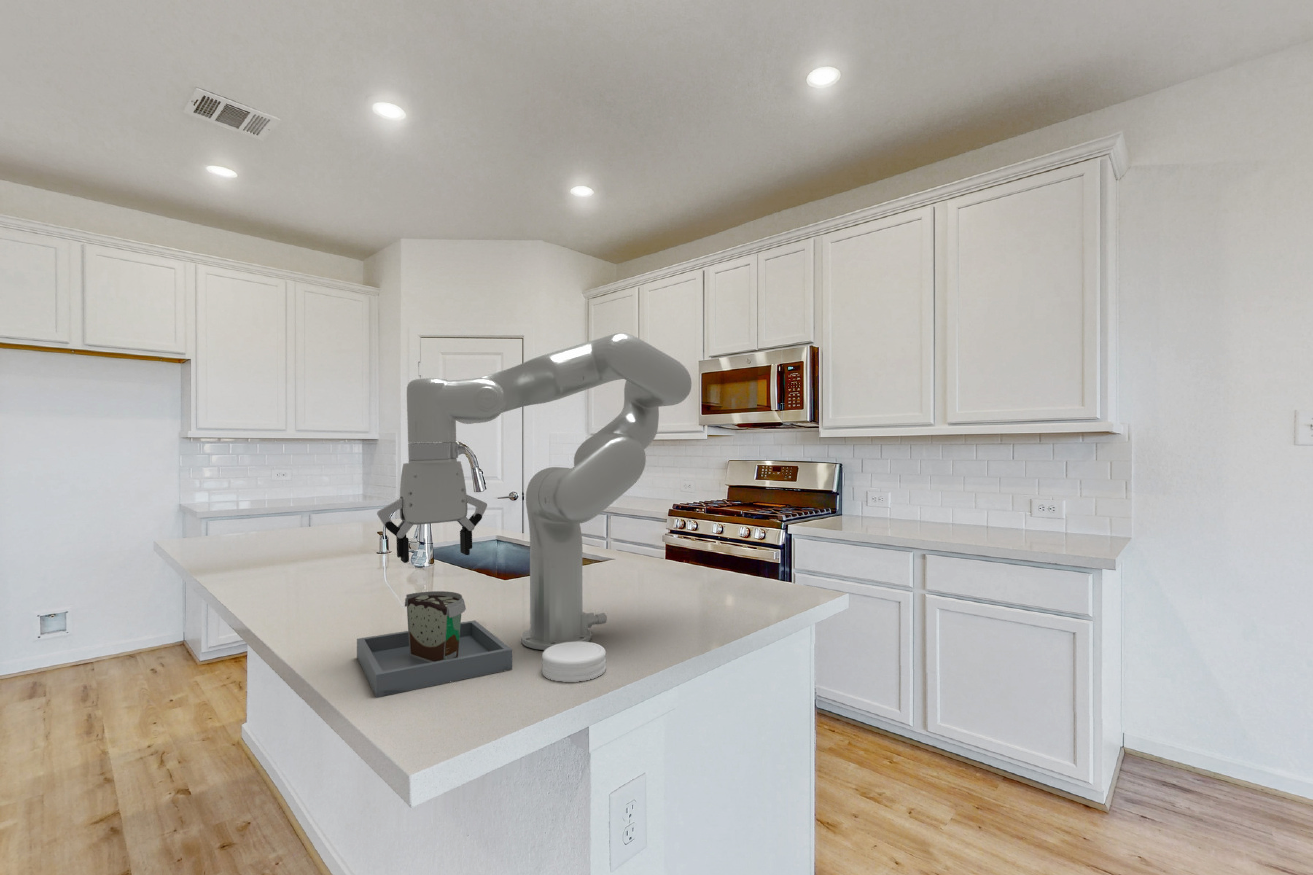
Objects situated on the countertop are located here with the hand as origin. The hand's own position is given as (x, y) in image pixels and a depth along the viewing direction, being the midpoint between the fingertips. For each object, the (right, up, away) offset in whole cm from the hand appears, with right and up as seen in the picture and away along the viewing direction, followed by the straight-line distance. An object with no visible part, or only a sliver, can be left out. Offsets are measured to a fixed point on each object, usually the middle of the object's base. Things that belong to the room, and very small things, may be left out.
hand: (435, 557), depth 103 cm
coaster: (+23, -18, -4) cm, 30 cm away
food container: (+1, -17, +1) cm, 17 cm away
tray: (0, -17, -1) cm, 17 cm away
